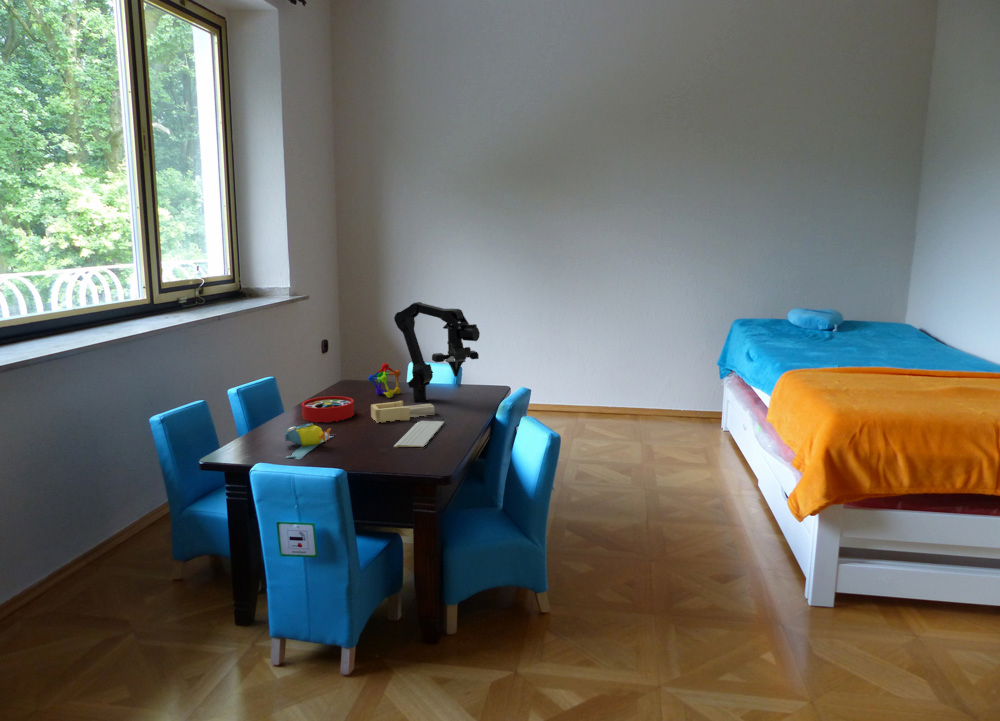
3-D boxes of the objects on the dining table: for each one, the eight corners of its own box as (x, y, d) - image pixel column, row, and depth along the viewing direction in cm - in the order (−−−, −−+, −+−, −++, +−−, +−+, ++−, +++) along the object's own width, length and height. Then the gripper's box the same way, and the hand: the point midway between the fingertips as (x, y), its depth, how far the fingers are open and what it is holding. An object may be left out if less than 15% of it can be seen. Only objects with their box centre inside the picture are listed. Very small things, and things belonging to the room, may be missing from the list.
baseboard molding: (389, 448, 242) (423, 450, 240) (389, 440, 241) (423, 442, 239) (413, 424, 272) (444, 425, 270) (413, 416, 271) (444, 417, 270)
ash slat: (376, 418, 279) (376, 409, 279) (431, 413, 287) (430, 403, 286) (379, 422, 275) (378, 411, 274) (434, 416, 282) (434, 406, 282)
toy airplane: (307, 435, 228) (264, 434, 231) (310, 461, 229) (267, 459, 232) (344, 413, 255) (305, 412, 258) (346, 436, 256) (307, 435, 259)
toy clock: (315, 395, 294) (361, 397, 290) (316, 409, 295) (361, 411, 291) (292, 407, 275) (341, 409, 271) (293, 422, 276) (342, 424, 272)
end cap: (370, 416, 282) (369, 403, 281) (402, 412, 287) (402, 400, 286) (377, 423, 271) (376, 411, 270) (410, 420, 275) (410, 407, 274)
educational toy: (375, 394, 324) (375, 361, 323) (402, 394, 323) (402, 361, 322) (364, 398, 309) (364, 364, 308) (393, 399, 308) (393, 365, 306)
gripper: (438, 344, 283) (439, 382, 286) (482, 340, 290) (483, 378, 293) (431, 340, 293) (432, 377, 296) (473, 337, 300) (474, 373, 303)
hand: (455, 376), depth 297 cm, fingers closed
